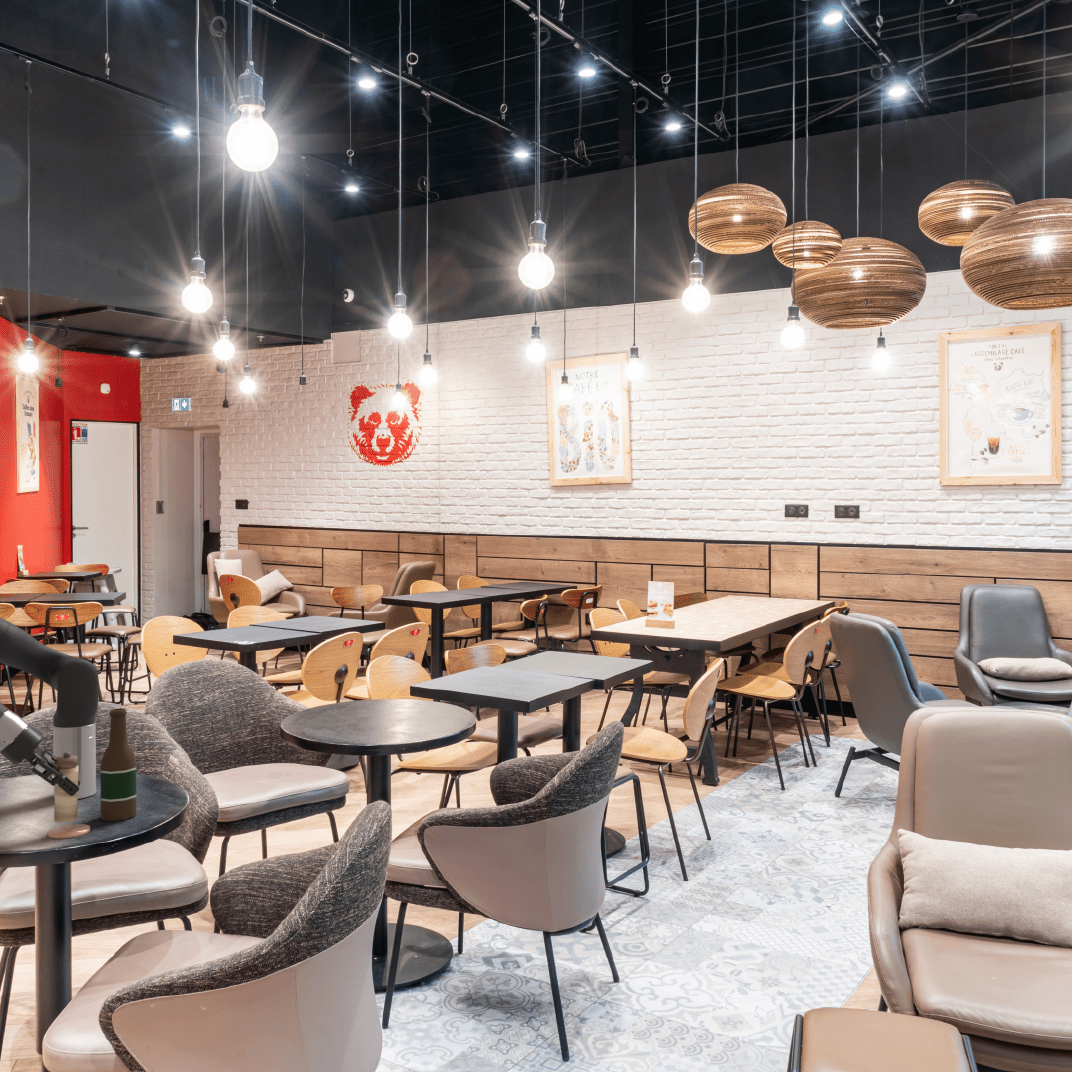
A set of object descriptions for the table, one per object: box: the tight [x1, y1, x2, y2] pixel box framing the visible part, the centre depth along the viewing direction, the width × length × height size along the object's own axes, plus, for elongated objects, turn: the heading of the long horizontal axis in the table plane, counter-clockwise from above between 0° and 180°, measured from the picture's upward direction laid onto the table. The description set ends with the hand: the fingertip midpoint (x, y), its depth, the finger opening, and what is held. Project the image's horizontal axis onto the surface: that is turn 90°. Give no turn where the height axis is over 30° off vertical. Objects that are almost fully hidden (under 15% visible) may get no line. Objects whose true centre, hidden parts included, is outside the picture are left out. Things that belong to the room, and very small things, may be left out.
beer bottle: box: [99, 707, 138, 822], centre depth 211 cm, size 8×8×24 cm
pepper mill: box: [53, 752, 79, 823], centre depth 200 cm, size 4×4×14 cm
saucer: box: [47, 823, 91, 840], centre depth 200 cm, size 8×8×1 cm
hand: (76, 789), depth 201 cm, fingers closed on pepper mill, 4 cm apart
